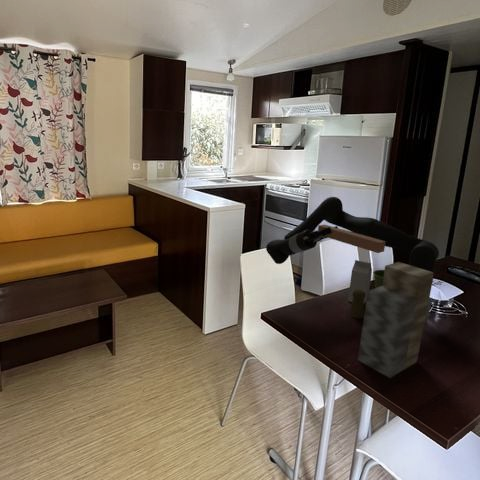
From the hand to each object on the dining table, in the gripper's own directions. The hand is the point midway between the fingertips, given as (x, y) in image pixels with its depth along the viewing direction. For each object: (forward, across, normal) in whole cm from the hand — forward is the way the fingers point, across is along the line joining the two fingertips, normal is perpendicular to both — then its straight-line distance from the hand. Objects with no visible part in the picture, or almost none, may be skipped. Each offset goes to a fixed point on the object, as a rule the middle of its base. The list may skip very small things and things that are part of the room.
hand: (333, 229), depth 140 cm
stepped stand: (+5, 0, +48) cm, 48 cm away
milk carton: (-26, +33, +30) cm, 52 cm away
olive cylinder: (-19, +20, +35) cm, 44 cm away
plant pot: (-24, +48, +32) cm, 63 cm away
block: (+5, 0, +6) cm, 8 cm away
